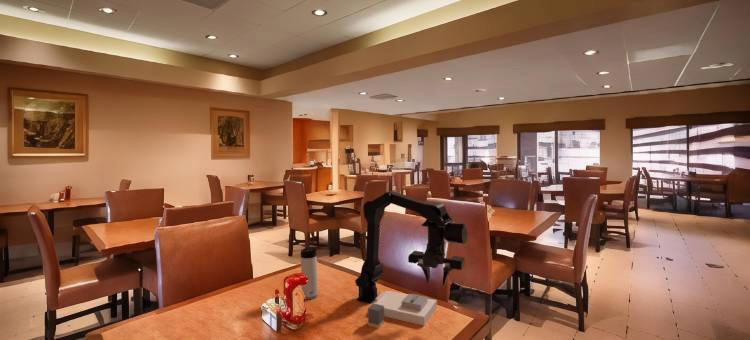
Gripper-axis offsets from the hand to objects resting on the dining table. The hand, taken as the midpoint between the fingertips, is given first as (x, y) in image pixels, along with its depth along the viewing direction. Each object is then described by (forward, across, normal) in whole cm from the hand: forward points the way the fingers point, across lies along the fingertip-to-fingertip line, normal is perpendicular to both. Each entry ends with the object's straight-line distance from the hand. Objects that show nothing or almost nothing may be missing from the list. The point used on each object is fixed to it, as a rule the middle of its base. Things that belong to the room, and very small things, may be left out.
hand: (436, 284), depth 120 cm
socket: (+12, -12, 0) cm, 17 cm away
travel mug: (+12, -51, -5) cm, 53 cm away
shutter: (+9, -8, 0) cm, 12 cm away
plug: (+12, -17, -13) cm, 25 cm away
